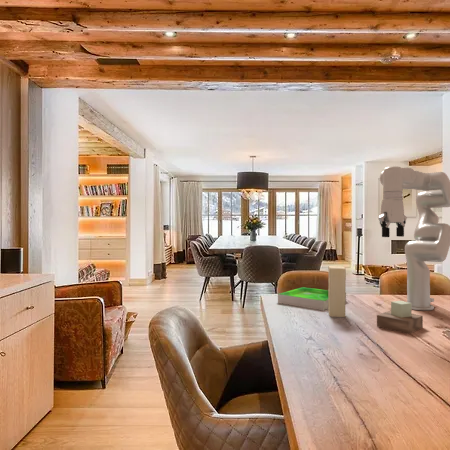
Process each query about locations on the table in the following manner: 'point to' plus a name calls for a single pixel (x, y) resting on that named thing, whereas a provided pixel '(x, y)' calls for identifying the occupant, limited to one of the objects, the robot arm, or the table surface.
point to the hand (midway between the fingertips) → (393, 236)
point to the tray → (306, 298)
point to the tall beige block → (336, 291)
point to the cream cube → (401, 309)
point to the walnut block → (400, 322)
